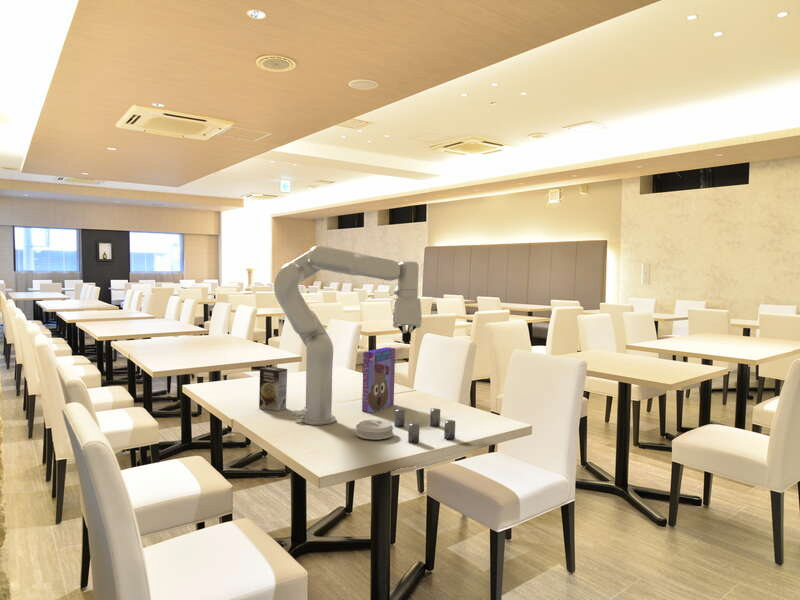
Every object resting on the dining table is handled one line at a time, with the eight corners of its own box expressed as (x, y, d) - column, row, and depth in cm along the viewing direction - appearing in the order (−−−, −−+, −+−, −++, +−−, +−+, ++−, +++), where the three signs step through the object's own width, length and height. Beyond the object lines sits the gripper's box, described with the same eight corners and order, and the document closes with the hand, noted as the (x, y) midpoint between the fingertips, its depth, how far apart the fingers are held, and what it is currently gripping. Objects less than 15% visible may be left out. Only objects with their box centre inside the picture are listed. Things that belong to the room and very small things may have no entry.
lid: (395, 432, 193) (396, 418, 192) (389, 443, 180) (390, 428, 180) (360, 430, 195) (360, 416, 194) (351, 440, 182) (352, 425, 182)
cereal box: (372, 413, 217) (373, 352, 216) (362, 411, 219) (363, 351, 218) (393, 404, 233) (395, 347, 231) (383, 403, 235) (385, 346, 234)
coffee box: (258, 408, 219) (258, 368, 218) (268, 405, 225) (268, 366, 224) (277, 411, 216) (278, 370, 215) (287, 408, 222) (287, 368, 221)
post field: (409, 444, 179) (410, 425, 179) (393, 425, 201) (393, 408, 201) (457, 441, 183) (458, 423, 183) (436, 423, 205) (437, 407, 205)
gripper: (390, 294, 201) (389, 344, 202) (429, 295, 205) (428, 344, 206) (386, 293, 209) (384, 342, 209) (424, 294, 212) (422, 341, 213)
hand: (406, 343), depth 208 cm, fingers closed
